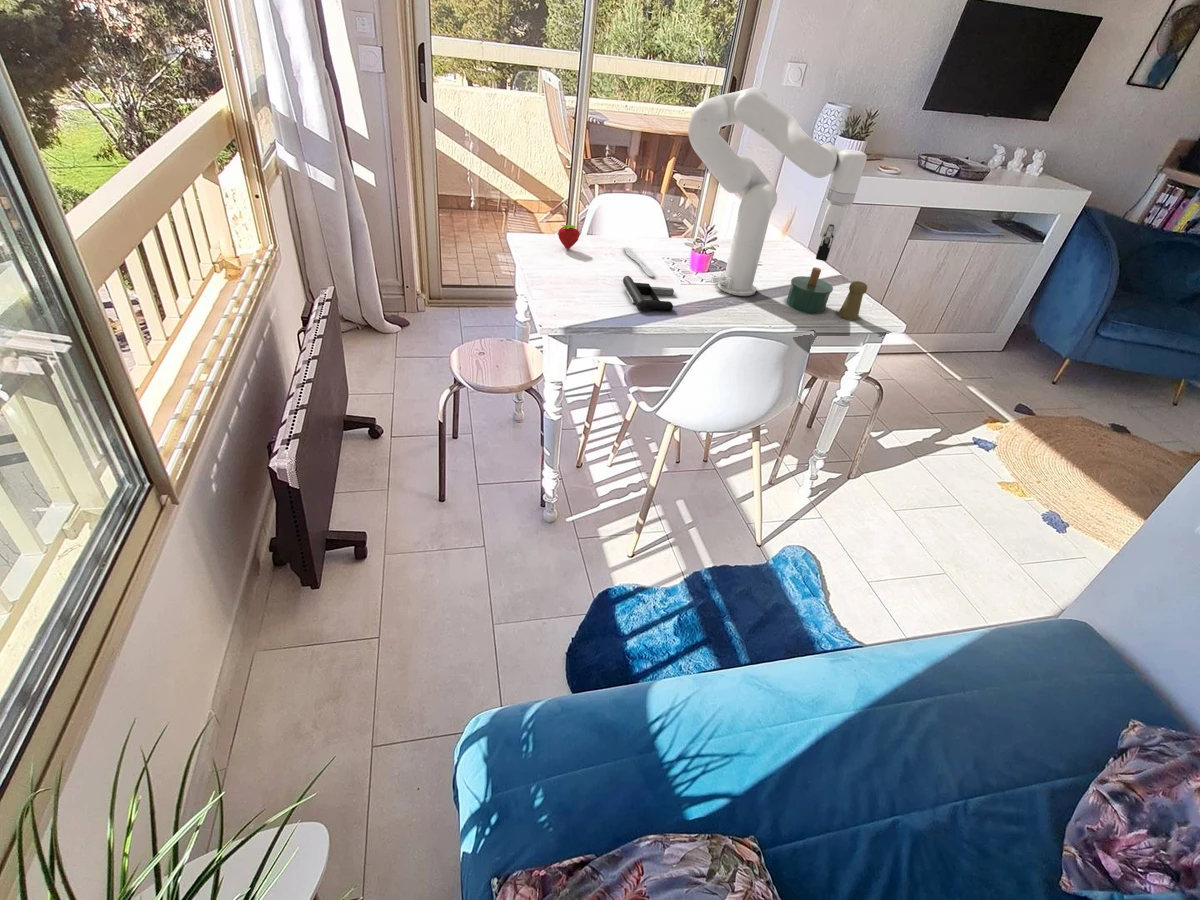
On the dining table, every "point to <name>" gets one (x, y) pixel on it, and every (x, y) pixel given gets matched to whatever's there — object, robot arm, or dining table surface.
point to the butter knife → (639, 262)
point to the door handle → (645, 289)
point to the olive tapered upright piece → (853, 300)
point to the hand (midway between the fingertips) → (822, 255)
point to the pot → (806, 301)
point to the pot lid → (812, 283)
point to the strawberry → (568, 235)
